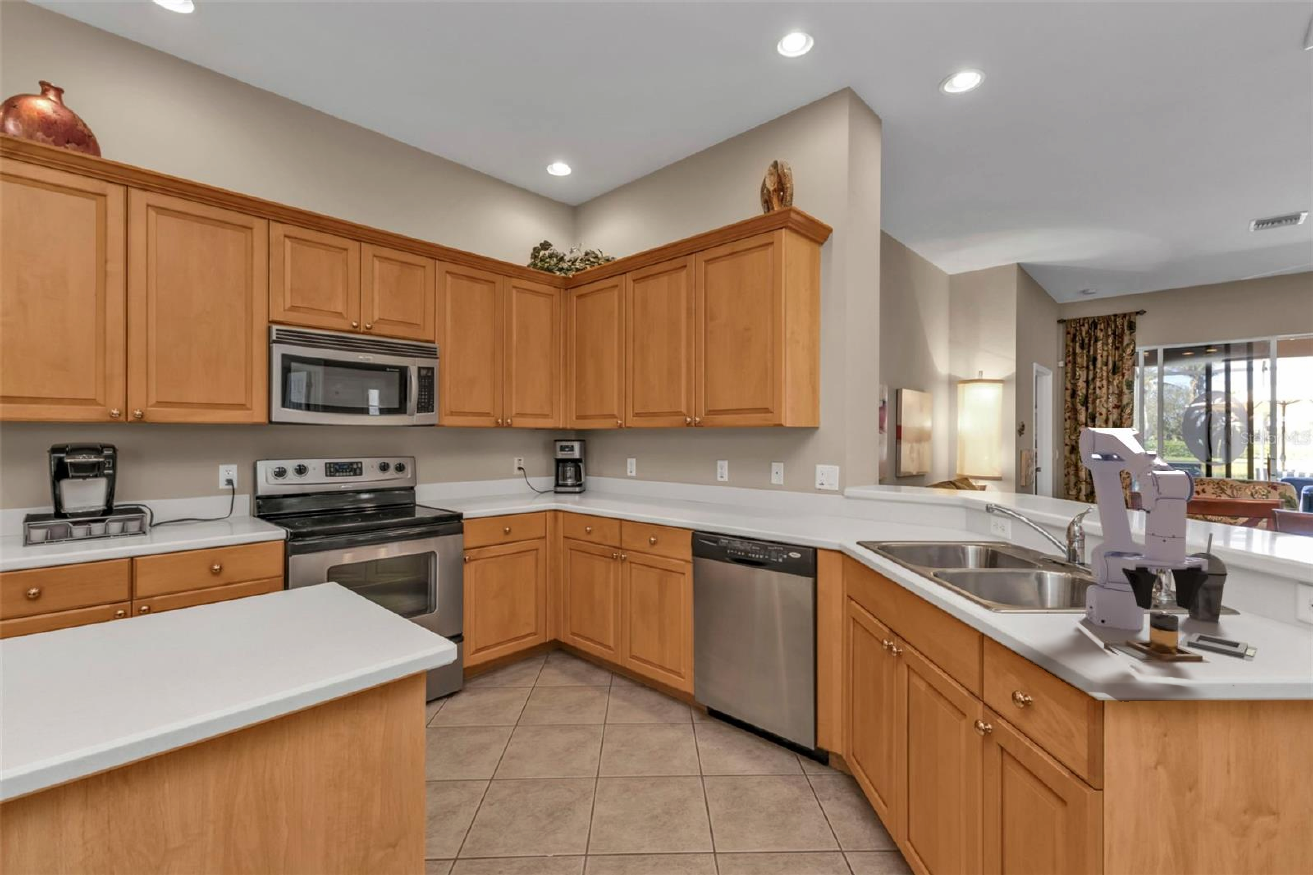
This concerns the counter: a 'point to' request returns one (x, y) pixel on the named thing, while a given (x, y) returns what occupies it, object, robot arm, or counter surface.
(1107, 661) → the counter surface
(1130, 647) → the trough board
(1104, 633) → the counter surface
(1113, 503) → the robot arm
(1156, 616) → the cell
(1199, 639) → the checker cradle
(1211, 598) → the beverage cup
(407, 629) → the counter surface
